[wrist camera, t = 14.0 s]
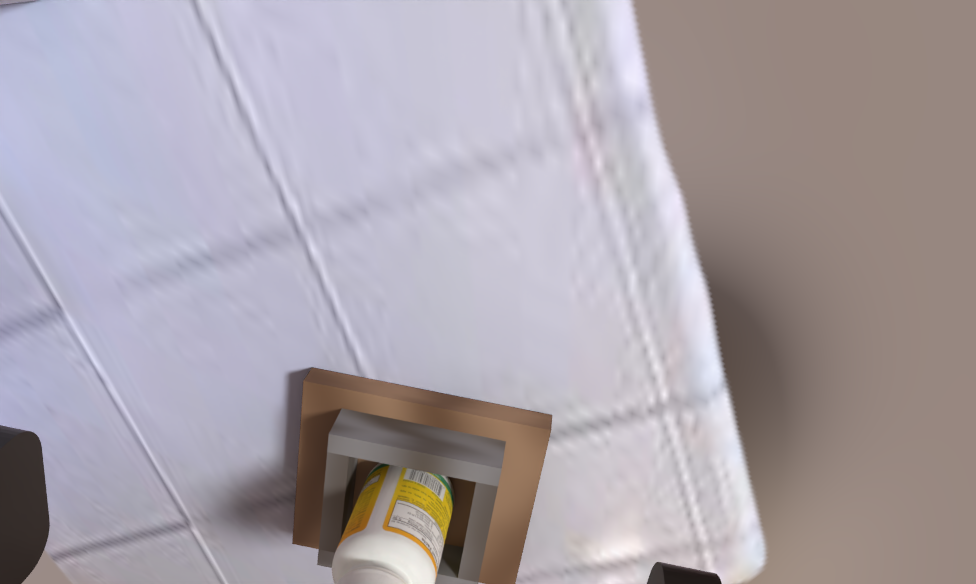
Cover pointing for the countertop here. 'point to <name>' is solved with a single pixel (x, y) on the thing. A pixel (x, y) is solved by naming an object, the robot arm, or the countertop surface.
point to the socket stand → (420, 467)
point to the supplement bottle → (395, 528)
